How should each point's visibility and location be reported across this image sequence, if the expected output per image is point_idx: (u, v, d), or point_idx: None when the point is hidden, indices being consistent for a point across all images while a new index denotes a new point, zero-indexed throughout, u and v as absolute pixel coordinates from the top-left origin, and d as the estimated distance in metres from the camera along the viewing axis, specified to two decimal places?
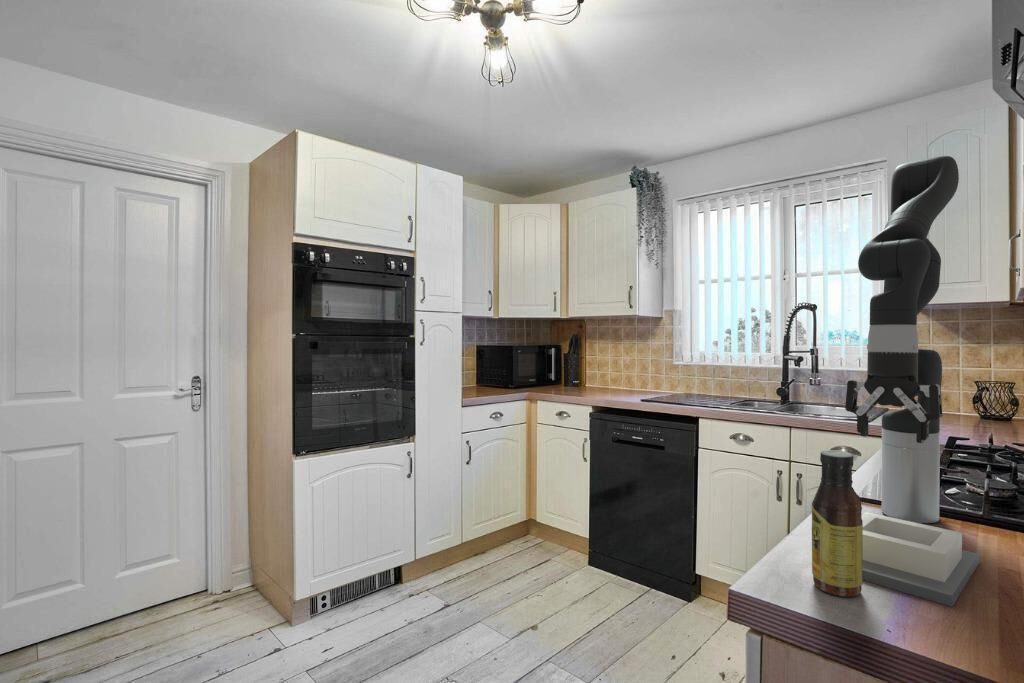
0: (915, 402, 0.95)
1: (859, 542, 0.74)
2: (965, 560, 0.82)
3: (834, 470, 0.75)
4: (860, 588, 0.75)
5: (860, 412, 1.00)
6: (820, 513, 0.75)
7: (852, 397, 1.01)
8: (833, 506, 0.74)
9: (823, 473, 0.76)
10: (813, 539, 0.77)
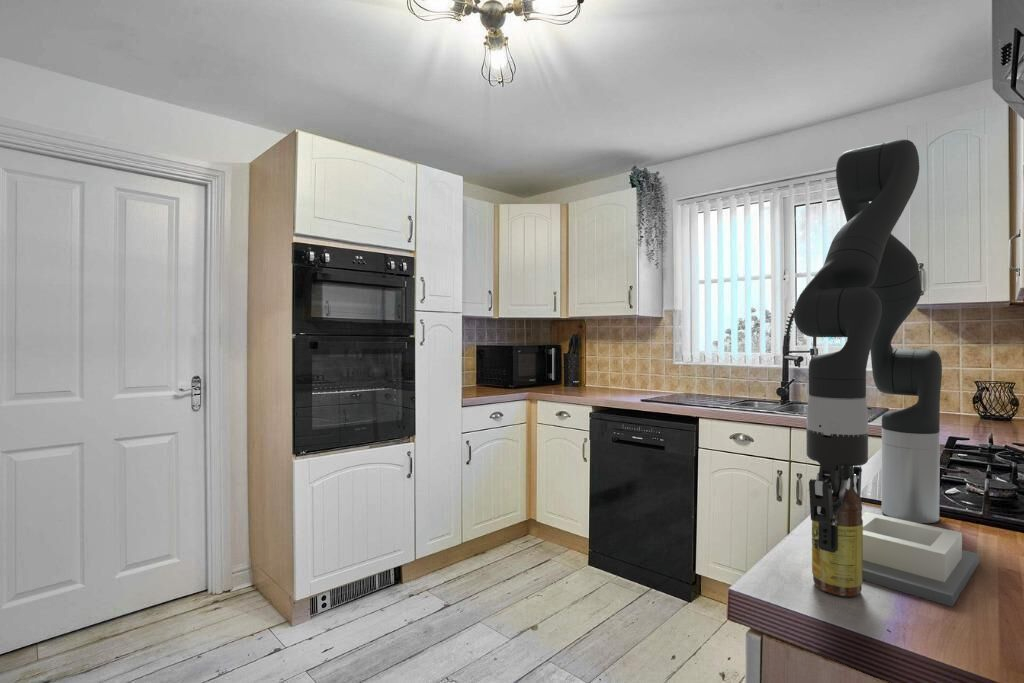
0: None
1: (859, 542, 0.74)
2: (965, 560, 0.82)
3: None
4: (860, 588, 0.75)
5: (837, 521, 0.73)
6: None
7: (831, 504, 0.72)
8: None
9: None
10: (813, 539, 0.77)
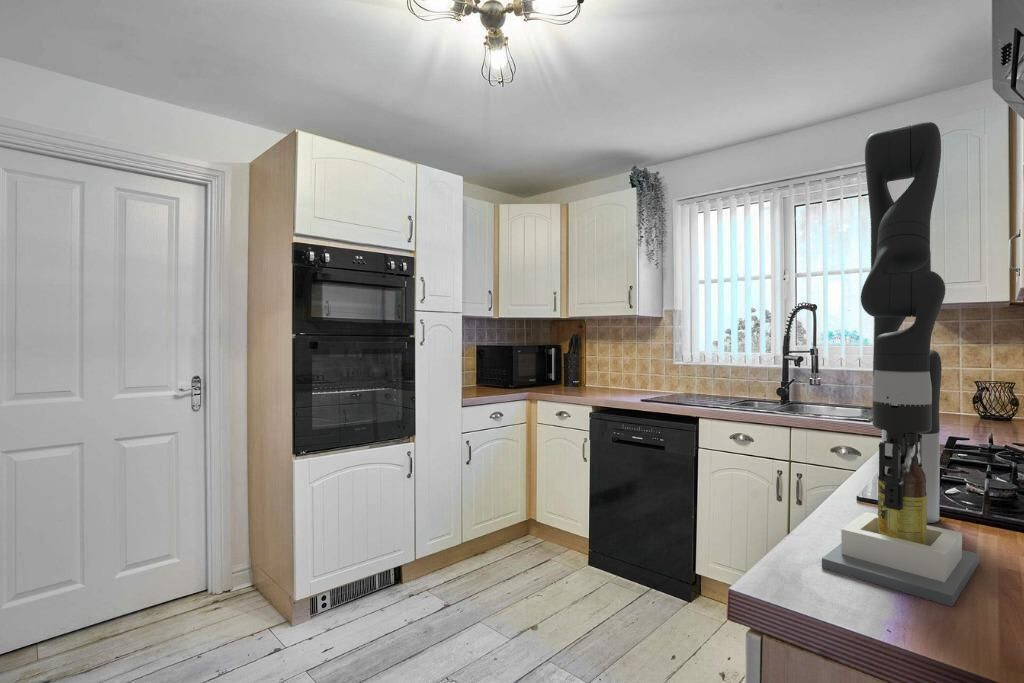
0: None
1: (924, 512, 0.81)
2: (965, 560, 0.82)
3: None
4: None
5: None
6: None
7: (899, 465, 0.79)
8: None
9: None
10: (880, 510, 0.85)
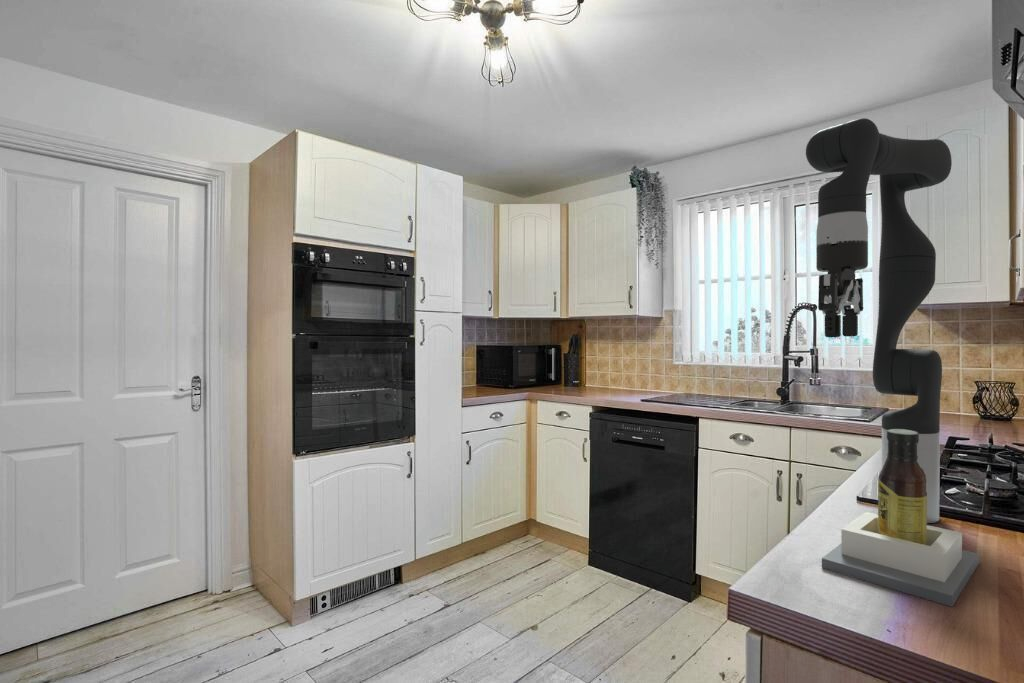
0: None
1: (925, 512, 0.81)
2: (965, 560, 0.82)
3: (901, 447, 0.82)
4: None
5: None
6: (888, 485, 0.83)
7: (836, 293, 0.87)
8: (901, 479, 0.81)
9: (890, 449, 0.84)
10: (880, 510, 0.85)
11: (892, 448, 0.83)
